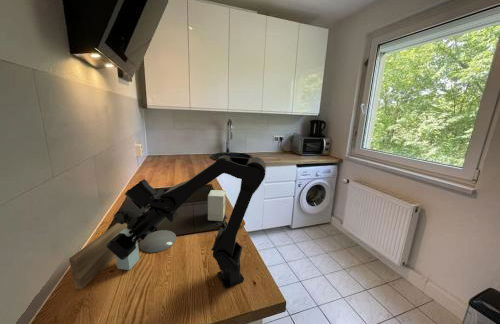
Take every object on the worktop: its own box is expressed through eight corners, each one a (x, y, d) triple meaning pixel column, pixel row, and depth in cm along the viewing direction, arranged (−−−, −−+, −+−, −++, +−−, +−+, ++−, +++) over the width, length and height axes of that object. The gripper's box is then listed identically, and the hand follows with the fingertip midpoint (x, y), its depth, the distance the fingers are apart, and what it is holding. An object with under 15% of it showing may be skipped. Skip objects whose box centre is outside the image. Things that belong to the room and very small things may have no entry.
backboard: (129, 243, 76) (126, 220, 73) (81, 289, 57) (75, 259, 54) (124, 243, 76) (121, 219, 74) (75, 288, 57) (69, 258, 54)
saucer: (179, 245, 76) (179, 244, 76) (140, 257, 70) (140, 255, 69) (172, 228, 87) (172, 227, 87) (138, 236, 80) (138, 235, 80)
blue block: (139, 258, 68) (136, 229, 65) (129, 270, 63) (125, 239, 60) (128, 257, 68) (124, 228, 65) (117, 268, 63) (113, 238, 60)
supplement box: (223, 221, 94) (223, 196, 91) (207, 220, 94) (207, 195, 91) (225, 213, 101) (225, 190, 98) (210, 212, 101) (210, 189, 98)
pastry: (242, 220, 96) (242, 213, 95) (247, 228, 90) (247, 220, 89) (222, 224, 92) (223, 216, 91) (227, 232, 86) (227, 224, 85)
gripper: (150, 186, 68) (124, 213, 72) (108, 214, 50) (75, 247, 54) (174, 209, 70) (146, 234, 73) (141, 244, 52) (107, 275, 55)
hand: (122, 245), depth 64 cm, fingers closed on blue block, 5 cm apart
